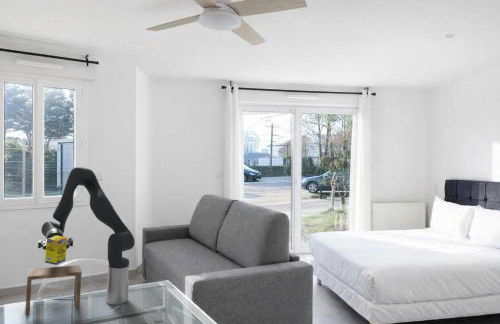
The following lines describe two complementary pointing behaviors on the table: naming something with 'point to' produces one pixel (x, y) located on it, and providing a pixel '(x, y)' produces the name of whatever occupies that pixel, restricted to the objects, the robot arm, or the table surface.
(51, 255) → the supplement box
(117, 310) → the table surface
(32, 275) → the walnut shelf
